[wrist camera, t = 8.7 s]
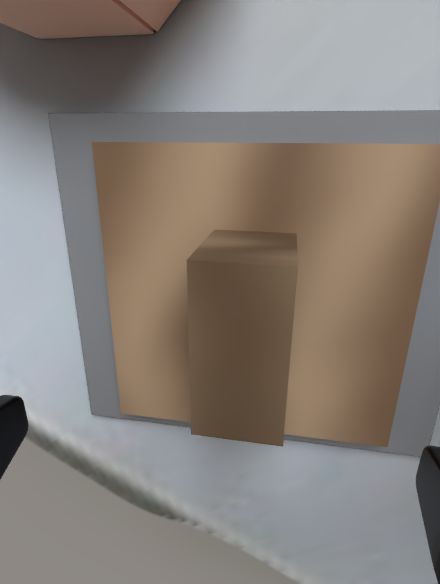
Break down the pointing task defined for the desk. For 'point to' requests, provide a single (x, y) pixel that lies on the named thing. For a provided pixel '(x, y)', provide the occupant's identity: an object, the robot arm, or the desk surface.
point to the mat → (236, 129)
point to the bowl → (85, 17)
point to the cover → (265, 282)
